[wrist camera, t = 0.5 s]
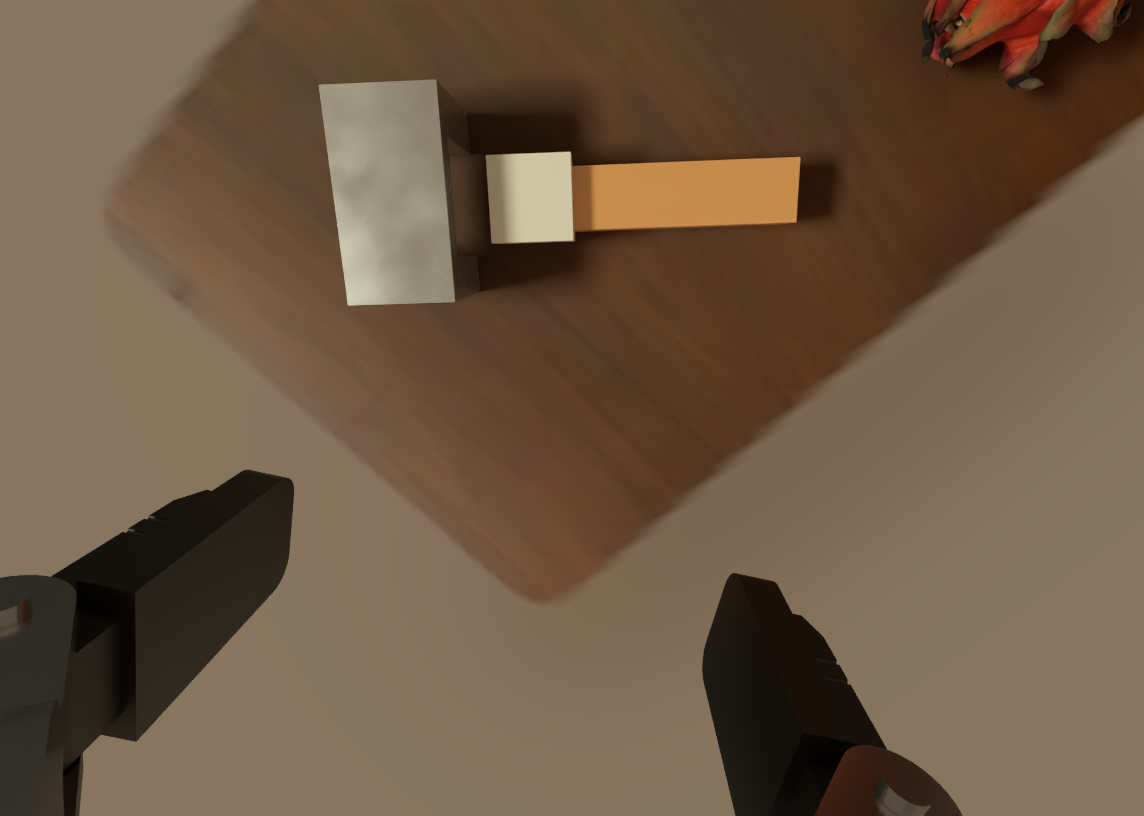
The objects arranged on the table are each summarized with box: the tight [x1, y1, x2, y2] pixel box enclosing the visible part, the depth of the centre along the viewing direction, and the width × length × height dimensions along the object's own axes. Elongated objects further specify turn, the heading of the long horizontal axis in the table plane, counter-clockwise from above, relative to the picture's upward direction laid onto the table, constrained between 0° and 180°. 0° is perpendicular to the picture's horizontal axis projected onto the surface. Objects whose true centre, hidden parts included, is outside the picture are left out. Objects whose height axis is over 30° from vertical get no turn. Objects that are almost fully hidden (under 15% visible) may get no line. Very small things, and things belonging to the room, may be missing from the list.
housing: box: [319, 80, 480, 305], centre depth 29 cm, size 5×9×6 cm, turn 2°
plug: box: [486, 152, 800, 244], centre depth 30 cm, size 15×4×4 cm, turn 92°
